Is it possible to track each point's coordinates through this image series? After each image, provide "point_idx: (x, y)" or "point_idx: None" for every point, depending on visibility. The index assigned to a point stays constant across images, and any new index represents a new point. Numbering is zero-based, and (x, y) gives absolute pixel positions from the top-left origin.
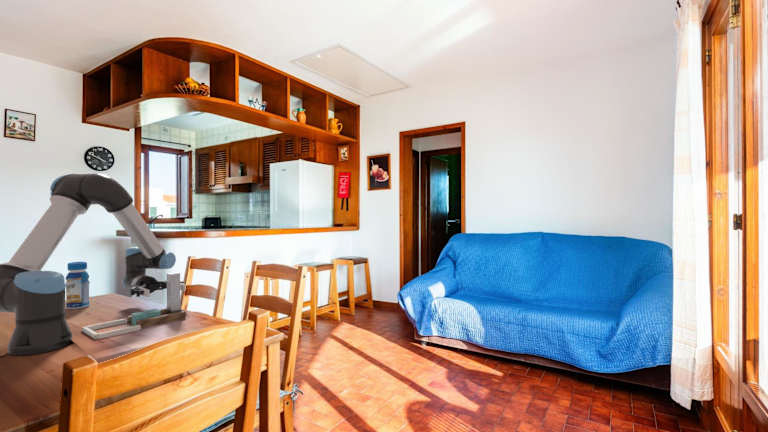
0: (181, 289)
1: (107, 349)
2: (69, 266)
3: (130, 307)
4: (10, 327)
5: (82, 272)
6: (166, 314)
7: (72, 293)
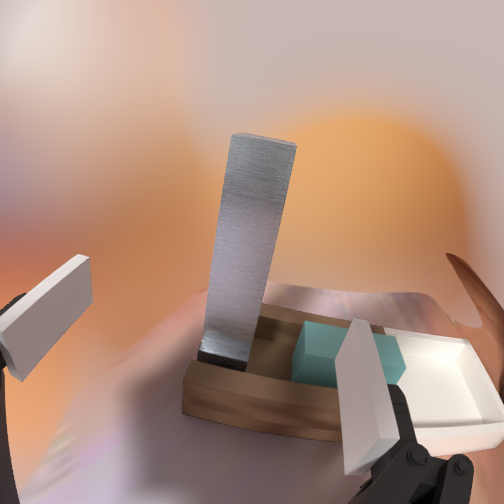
0: (74, 313)
1: (430, 320)
2: None
3: None
4: None
5: None
6: (284, 320)
7: None
